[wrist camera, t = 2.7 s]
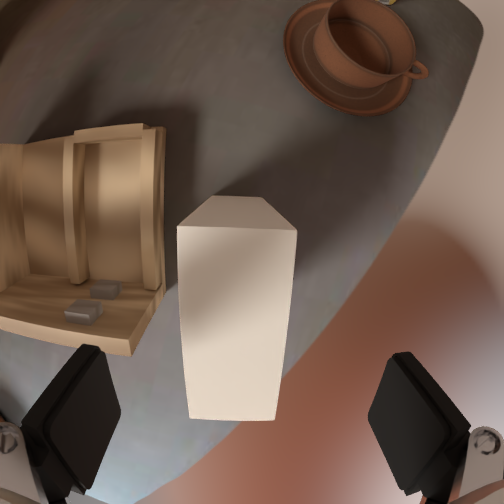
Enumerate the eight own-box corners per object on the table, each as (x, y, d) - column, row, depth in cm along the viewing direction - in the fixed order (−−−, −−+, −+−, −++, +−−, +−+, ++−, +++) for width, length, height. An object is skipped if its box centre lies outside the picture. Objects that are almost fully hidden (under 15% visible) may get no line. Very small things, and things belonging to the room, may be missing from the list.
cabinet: (22, 146, 20) (-48, 146, 10) (166, 128, 21) (120, 100, 11) (31, 279, 24) (-28, 320, 14) (166, 291, 25) (131, 356, 15)
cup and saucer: (389, 19, 19) (419, -6, 13) (410, 124, 22) (450, 116, 16) (273, 4, 18) (282, -34, 12) (287, 118, 22) (304, 100, 16)
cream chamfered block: (212, 195, 23) (176, 225, 9) (274, 197, 23) (325, 231, 10) (210, 298, 25) (189, 418, 12) (267, 300, 25) (295, 418, 12)
